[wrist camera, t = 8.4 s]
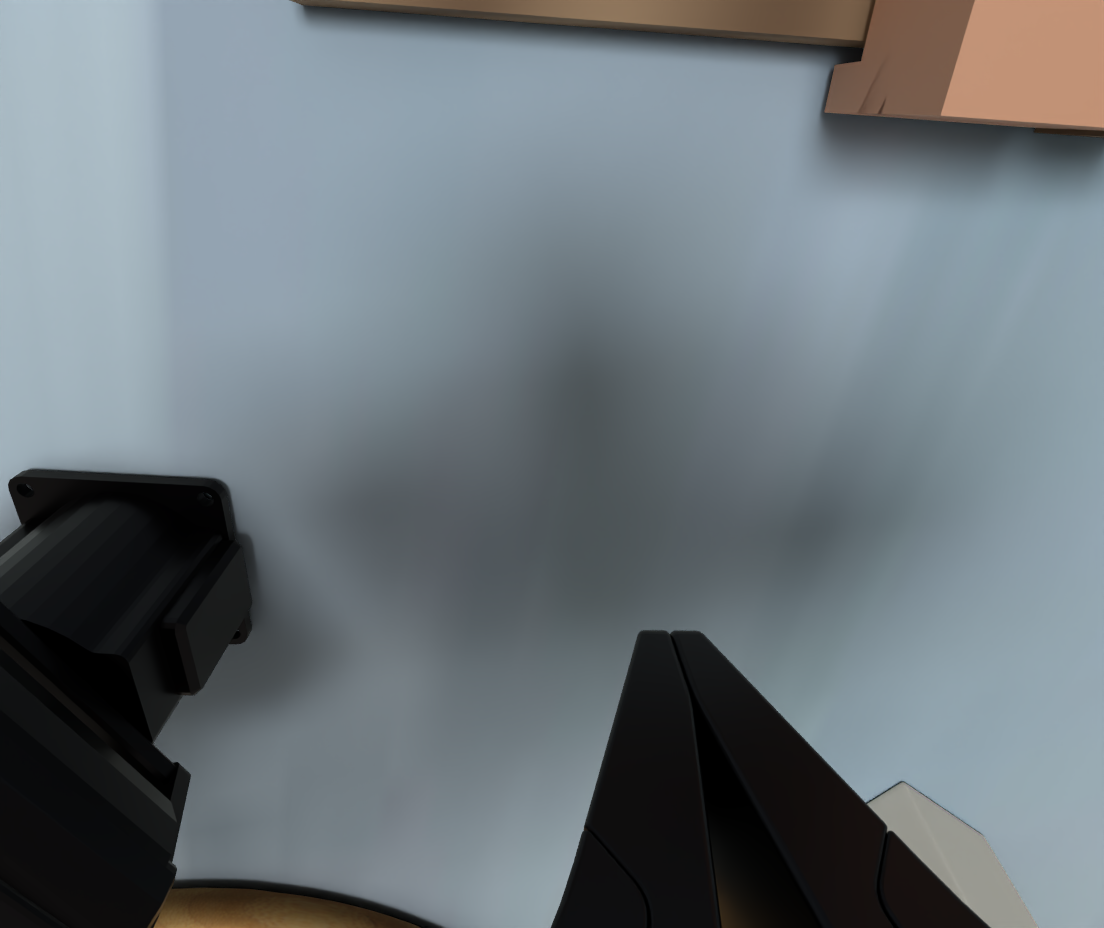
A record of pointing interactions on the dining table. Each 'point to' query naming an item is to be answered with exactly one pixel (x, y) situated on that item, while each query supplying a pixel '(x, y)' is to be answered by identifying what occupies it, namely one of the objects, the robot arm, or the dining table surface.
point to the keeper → (979, 63)
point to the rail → (672, 19)
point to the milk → (954, 855)
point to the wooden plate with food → (264, 911)
